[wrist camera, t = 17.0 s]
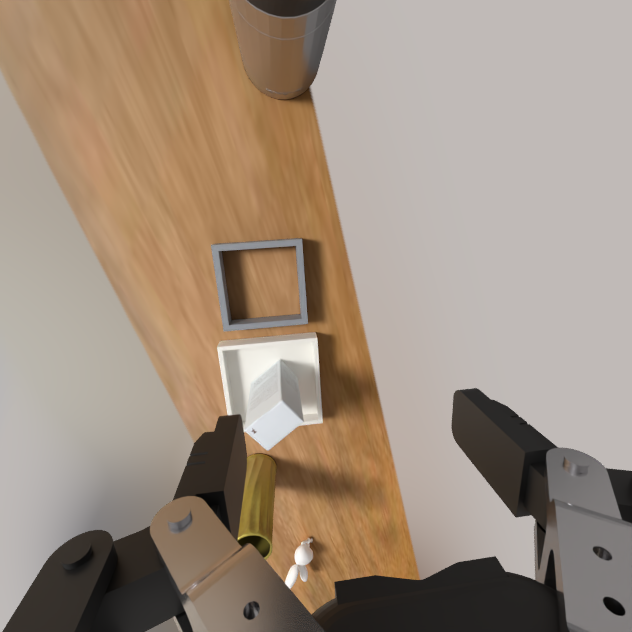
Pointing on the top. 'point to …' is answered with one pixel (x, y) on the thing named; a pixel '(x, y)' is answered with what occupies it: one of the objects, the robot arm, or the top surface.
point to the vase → (258, 504)
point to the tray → (258, 356)
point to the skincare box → (273, 406)
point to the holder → (263, 321)
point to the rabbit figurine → (300, 563)
